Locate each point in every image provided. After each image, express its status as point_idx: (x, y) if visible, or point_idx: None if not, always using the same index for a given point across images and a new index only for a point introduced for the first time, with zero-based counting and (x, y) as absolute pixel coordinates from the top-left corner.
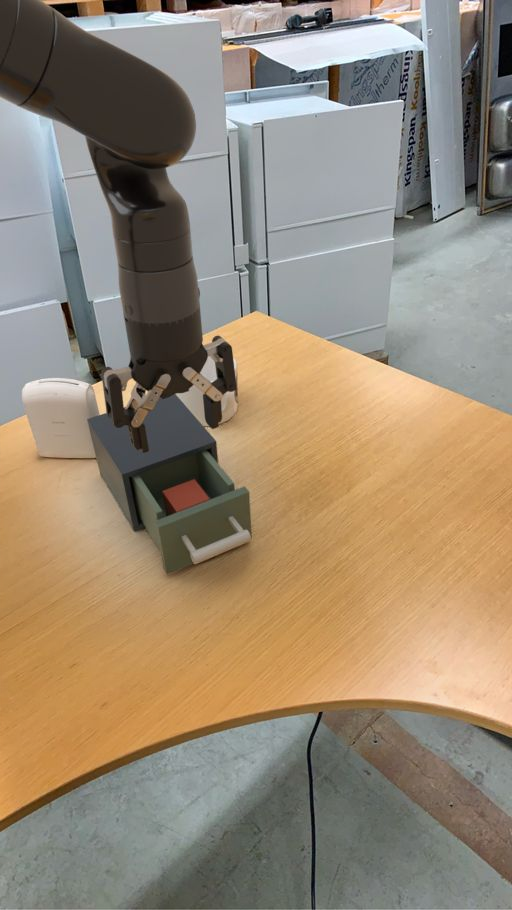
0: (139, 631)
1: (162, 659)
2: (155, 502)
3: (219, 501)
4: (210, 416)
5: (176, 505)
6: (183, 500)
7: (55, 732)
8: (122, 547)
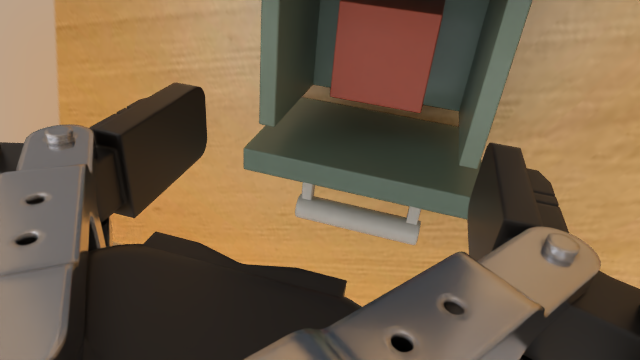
0: (222, 157)
1: (233, 209)
2: (271, 93)
3: (396, 198)
4: (475, 225)
5: (340, 78)
6: (364, 73)
7: None
8: None
